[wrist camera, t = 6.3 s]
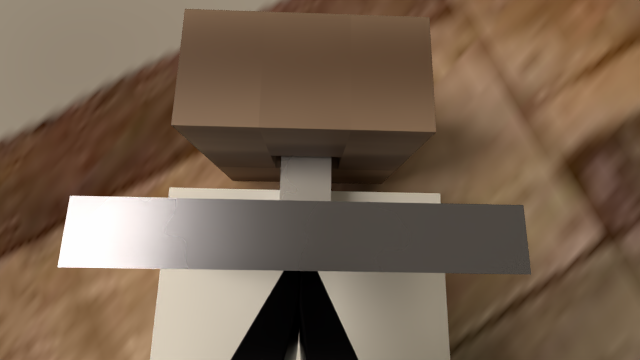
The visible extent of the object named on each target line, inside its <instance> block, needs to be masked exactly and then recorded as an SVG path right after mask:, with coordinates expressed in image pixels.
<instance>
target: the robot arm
mask: <svg viewBox="0 0 640 360" xmlns="http://www.w3.org/2000/svg"><path fill="white" fill-rule="evenodd" d="M298 343H299V345H300V359H301V360H358V357H357V355H356V353H355V351H354V349H353V347H352V344H351V342H350V340H349V338H348V336H347V334H346V331H345V329H344V327H343V325H342V323H341V321H340V319H339V316H338V314H337V312H336V310H335V308H334V306H333V303H332V301H331V299H330V297H329V295H328V293H327V290H326V288H325V286H324V284H323V282H322V280H321V277H320V275H319V273H318V271H283V272H282V274H281V276H280V278H279V279H278V281H277V283H276V284H275V286H274V288H273V289H272V291H271V293H270V294H269V296H268V298H267V299H266V301H265V303H264V304H263V306H262V308H261V309H260V311H259V313H258V314H257V316H256V318H255V319H254V321H253V323H252V324H251V326H250V328H249V330H248V331H247V333H246V335H245V336H244V338H243V340H242V341H241V343H240V345H239V346H238V348H237V350H236V351H235V353H234V355H233V356H232V358H231V360H296V357H297V350H298Z"/></svg>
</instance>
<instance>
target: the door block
mask: <svg viewBox="0 0 640 360" xmlns="http://www.w3.org/2000/svg"><path fill="white" fill-rule="evenodd" d="M169 198H199V199H248V200H280V190H255V189H208V188H170V189H169ZM331 201H345V202H394V203H441V200H440V193H396V192H349V191H331ZM282 272H283V271H275V270H210V269H160V277H159V285H158V294H157V303H156V312H155V320H154V329H153V338H152V347H151V356H150V360H231V358H232V356H233V355H234V353H235V351H236V350H237V348H238V346H239V345H240V343H241V341H242V340H243V338H244V336H245V335H246V333H247V331H248V330H249V328H250V326H251V324H252V323H253V321H254V319H255V318H256V316H257V314H258V313H259V311H260V309H261V308H262V306H263V304H264V303H265V301H266V299H267V298H268V296H269V294H270V293H271V291H272V289H273V288H274V286H275V284H276V283H277V281H278V279H279V278H280V276H281V274H282ZM318 273H319V275H320V277H321V280H322V282H323V284H324V286H325V288H326V290H327V293H328V295H329V297H330V299H331V301H332V303H333V306H334V308H335V310H336V312H337V314H338V316H339V319H340V321H341V323H342V325H343V327H344V329H345V331H346V334H347V336H348V338H349V340H350V342H351V344H352V347H353V349H354V351H355V353H356V355H357V357H358V360H450V348H449V331H448V315H447V299H446V282H445V273H406V272H340V271H318ZM296 360H301V359H300V345H299V343H298V350H297V357H296Z"/></svg>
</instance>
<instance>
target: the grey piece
mask: <svg viewBox="0 0 640 360" xmlns="http://www.w3.org/2000/svg"><path fill="white" fill-rule="evenodd" d="M58 267H79V268H145V269H210V270H275V271H340V272H406V273H471V274H531V269H530V260H529V251H528V242H527V234H526V225H525V216H524V207H523V205H491V204H443V203H394V202H345V201H331V157H314V156H281V176H280V200H248V199H199V198H151V197H102V196H70V200H69V206H68V211H67V217H66V222H65V228H64V234H63V239H62V245H61V251H60V256H59V262H58Z"/></svg>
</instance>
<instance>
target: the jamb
mask: <svg viewBox="0 0 640 360" xmlns="http://www.w3.org/2000/svg"><path fill="white" fill-rule="evenodd" d="M171 125H172V126H173V127H174V128H175V129H176V130H177V131H178V132H179V133H181V134H182V135H183V136H184V137H185V138H186V139H187V140H188V141H189V142H191V143H192V144H193V145H194V146H195V147H196V148H197V149H198V150H199V151H201V152H202V153H203V154H204V155H205V156H206V157H207V158H208V159H209V160H210V161H212V162H213V163H214V164H215V165H216V166H217V167H218V168H219V169H220V170H222V171H223V172H224V173H225V174H226V175H227V176H228V177H229V178H230V179H232V180H233V181H275V182H280V176H281V156H314V157H331V183H366V184H382V183H383V182H384V181H385V180H386V179H387V178H388V177H389V176H390V175H391V174H392V173H393V172H394V171H395V170H396V169H397V168H399V167H400V166H401V165H402V164H403V163H404V162H405V161H406V160H407V159H408V158H409V157H410V156H411V155H412V154H413V153H414V152H416V151H417V150H418V149H419V148H420V147H421V146H422V145H423V144H424V143H425V142H426V141H427V140H428V139H429V138H430V137H431V136H432V135H434V134H435V133H436V120H435V103H434V87H433V70H432V54H431V37H430V21H429V17H404V16H375V15H346V14H317V13H288V12H259V11H229V10H226V11H225V10H201V9H185V13H184V22H183V31H182V40H181V47H180V56H179V64H178V73H177V81H176V90H175V98H174V107H173V115H172V124H171Z"/></svg>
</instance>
